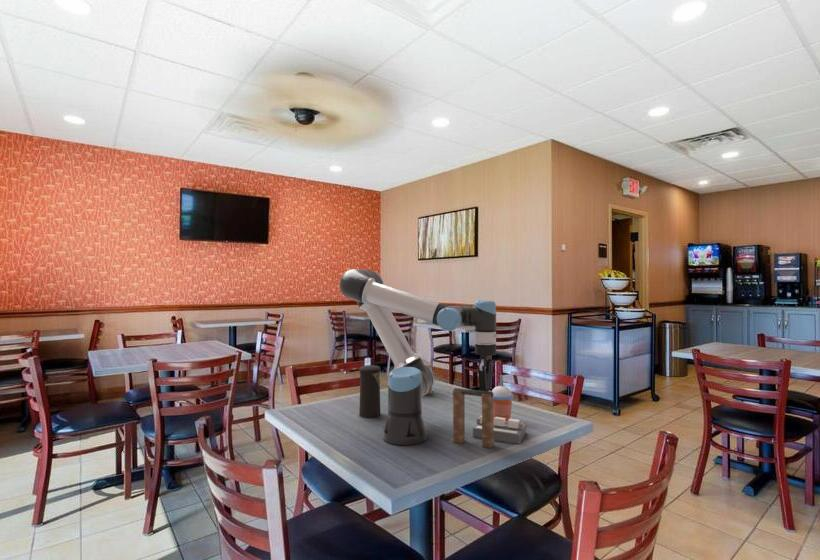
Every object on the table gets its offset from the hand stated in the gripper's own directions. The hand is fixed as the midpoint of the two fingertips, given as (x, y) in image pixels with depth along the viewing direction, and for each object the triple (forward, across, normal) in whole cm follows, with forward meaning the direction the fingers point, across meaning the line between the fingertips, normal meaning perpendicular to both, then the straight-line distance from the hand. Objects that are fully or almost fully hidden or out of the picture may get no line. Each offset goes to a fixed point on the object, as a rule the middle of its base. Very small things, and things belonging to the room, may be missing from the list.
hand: (485, 409), depth 155 cm
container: (+9, +1, +49) cm, 50 cm away
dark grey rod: (-8, -12, +1) cm, 14 cm away
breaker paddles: (+5, 0, -5) cm, 7 cm away
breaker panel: (+8, 0, -5) cm, 10 cm away
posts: (+8, -12, +1) cm, 15 cm away
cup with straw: (+9, +15, -2) cm, 17 cm away
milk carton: (+9, +43, +47) cm, 64 cm away
